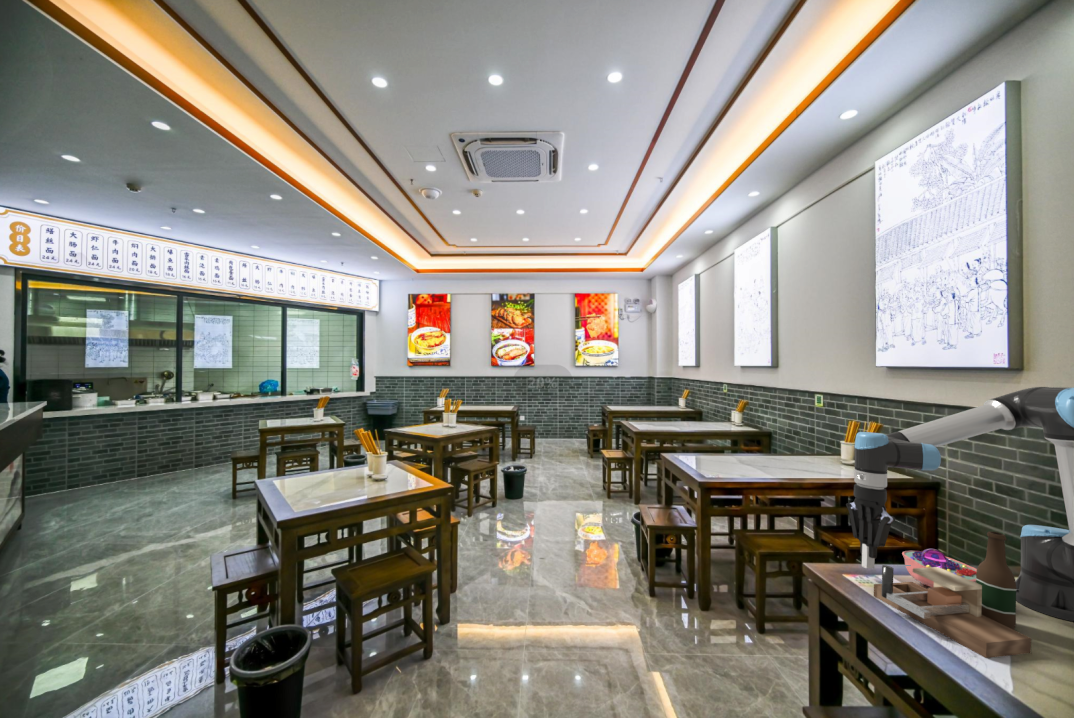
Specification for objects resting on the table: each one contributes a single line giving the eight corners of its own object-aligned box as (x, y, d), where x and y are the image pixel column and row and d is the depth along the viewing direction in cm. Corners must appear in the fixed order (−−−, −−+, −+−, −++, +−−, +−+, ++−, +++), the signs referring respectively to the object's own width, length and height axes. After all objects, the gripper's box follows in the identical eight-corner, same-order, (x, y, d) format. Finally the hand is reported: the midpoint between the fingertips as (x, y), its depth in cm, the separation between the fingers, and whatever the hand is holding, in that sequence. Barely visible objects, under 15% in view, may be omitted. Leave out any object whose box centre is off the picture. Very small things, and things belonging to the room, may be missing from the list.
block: (941, 601, 115) (942, 586, 115) (961, 610, 110) (961, 595, 110) (927, 602, 114) (927, 587, 114) (946, 612, 109) (946, 596, 110)
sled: (925, 591, 119) (926, 562, 120) (973, 614, 108) (974, 582, 109) (879, 594, 116) (880, 565, 116) (923, 618, 105) (924, 586, 105)
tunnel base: (911, 593, 125) (911, 581, 126) (1030, 653, 99) (1031, 638, 100) (873, 596, 123) (873, 584, 123) (986, 658, 97) (986, 642, 97)
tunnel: (937, 595, 118) (938, 567, 118) (981, 616, 108) (981, 585, 108) (912, 597, 116) (912, 568, 116) (954, 618, 106) (954, 587, 107)
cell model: (926, 601, 121) (927, 562, 122) (891, 570, 140) (892, 537, 141) (1001, 614, 116) (1002, 573, 116) (953, 580, 135) (954, 545, 136)
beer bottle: (1005, 619, 114) (1007, 531, 114) (1024, 635, 106) (1026, 541, 107) (967, 611, 117) (969, 525, 117) (983, 626, 110) (985, 535, 110)
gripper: (839, 479, 127) (837, 557, 127) (882, 492, 114) (879, 579, 114) (859, 479, 129) (857, 556, 128) (904, 492, 116) (902, 577, 115)
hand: (868, 567), depth 121 cm, fingers closed
